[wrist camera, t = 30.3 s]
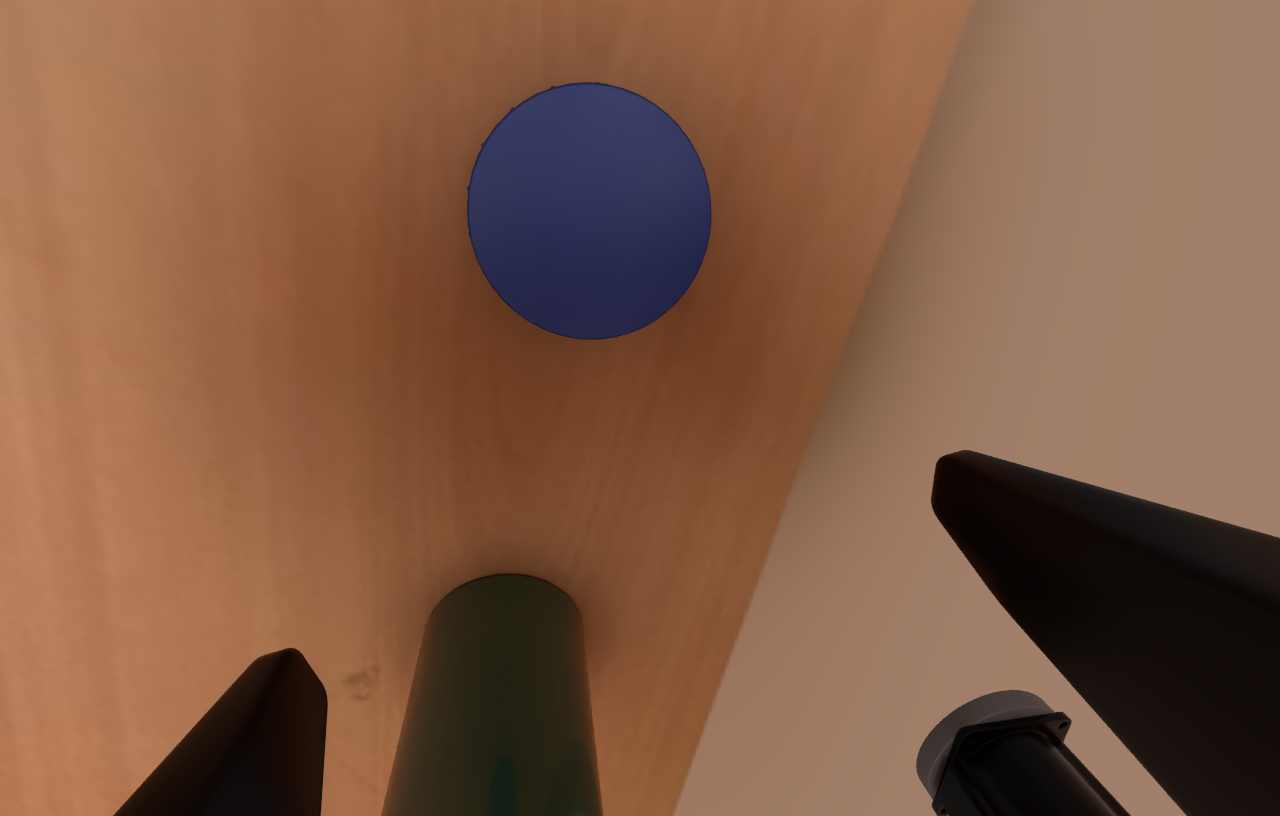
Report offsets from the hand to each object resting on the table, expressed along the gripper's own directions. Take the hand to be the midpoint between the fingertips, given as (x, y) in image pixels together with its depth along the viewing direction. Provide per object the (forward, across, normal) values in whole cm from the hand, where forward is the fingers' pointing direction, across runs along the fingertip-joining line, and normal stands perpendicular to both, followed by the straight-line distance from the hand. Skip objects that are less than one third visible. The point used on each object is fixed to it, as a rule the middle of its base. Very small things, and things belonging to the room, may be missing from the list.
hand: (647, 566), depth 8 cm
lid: (+11, -2, -2) cm, 12 cm away
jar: (+12, +5, +13) cm, 18 cm away
